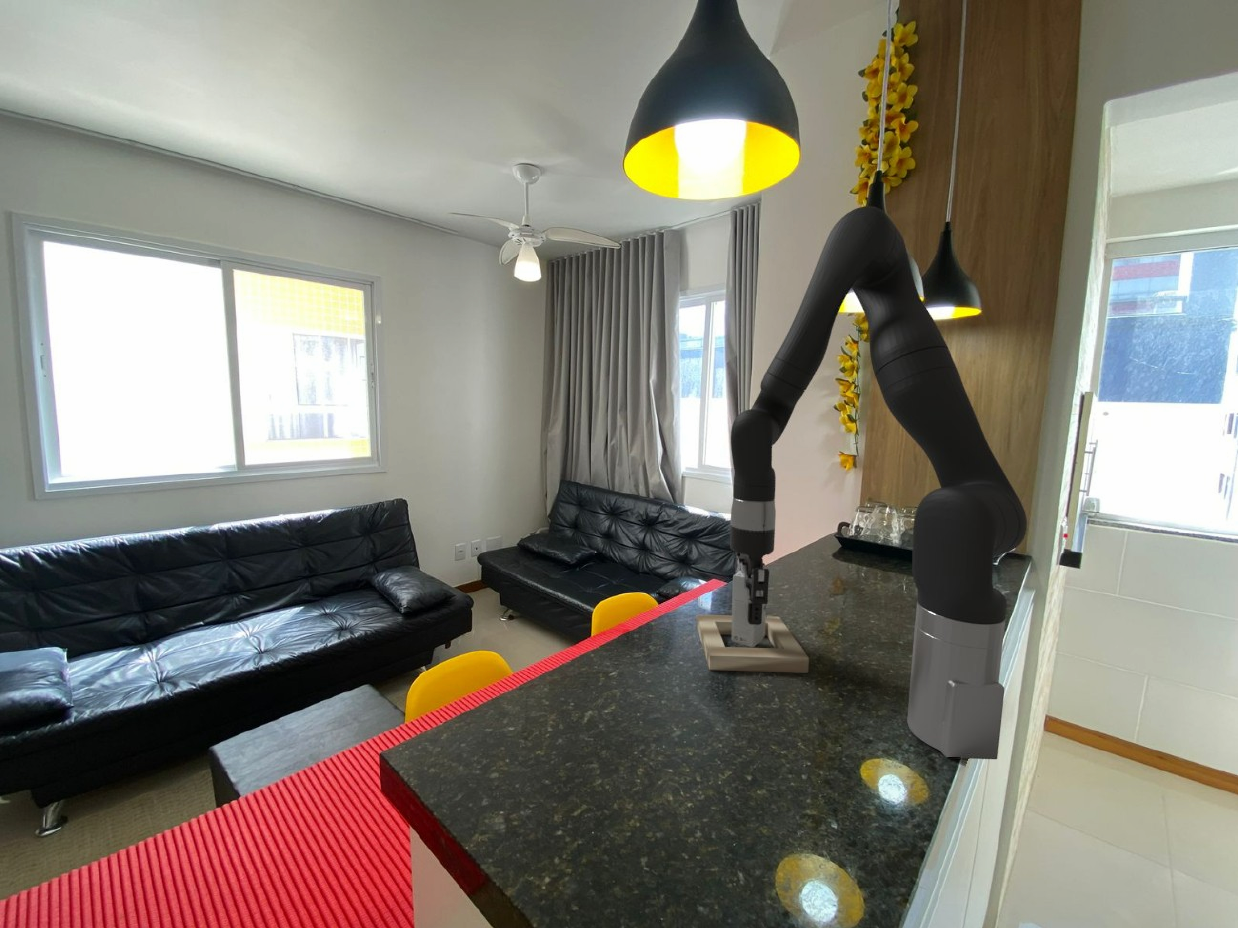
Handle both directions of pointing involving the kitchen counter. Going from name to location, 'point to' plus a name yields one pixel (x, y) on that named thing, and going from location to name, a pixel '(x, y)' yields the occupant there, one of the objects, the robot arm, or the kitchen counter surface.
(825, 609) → the kitchen counter surface
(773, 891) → the kitchen counter surface
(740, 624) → the skincare box
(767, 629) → the socket block
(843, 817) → the kitchen counter surface
